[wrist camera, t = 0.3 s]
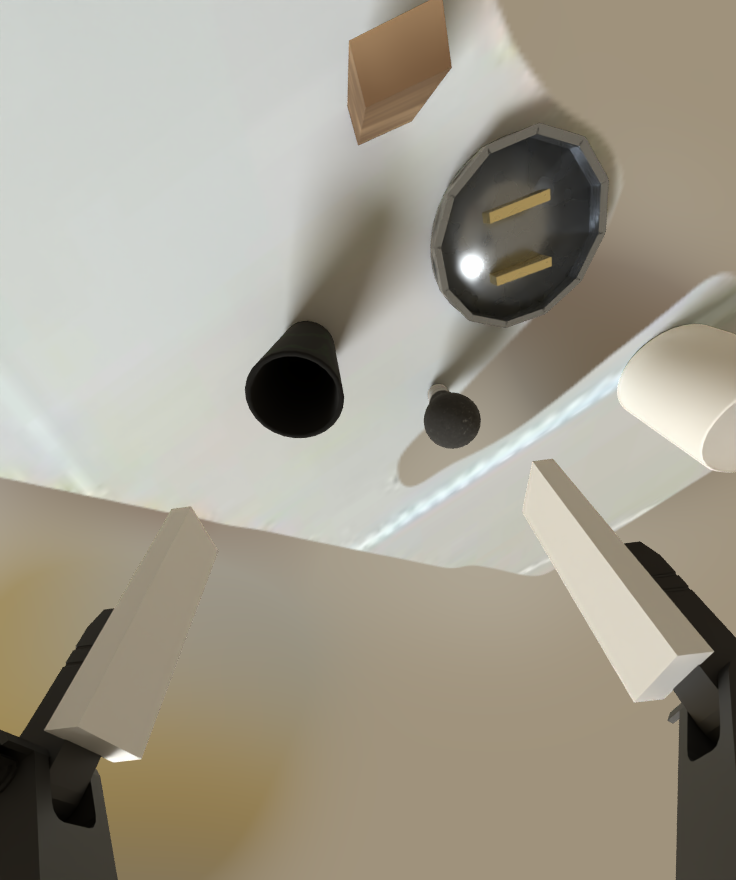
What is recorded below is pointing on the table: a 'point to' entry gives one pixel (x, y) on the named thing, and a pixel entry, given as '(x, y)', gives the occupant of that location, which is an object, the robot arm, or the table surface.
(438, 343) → the table surface
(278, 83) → the table surface
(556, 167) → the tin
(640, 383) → the cup
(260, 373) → the cup
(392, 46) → the tapered wood plank
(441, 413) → the light bulb
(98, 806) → the robot arm
